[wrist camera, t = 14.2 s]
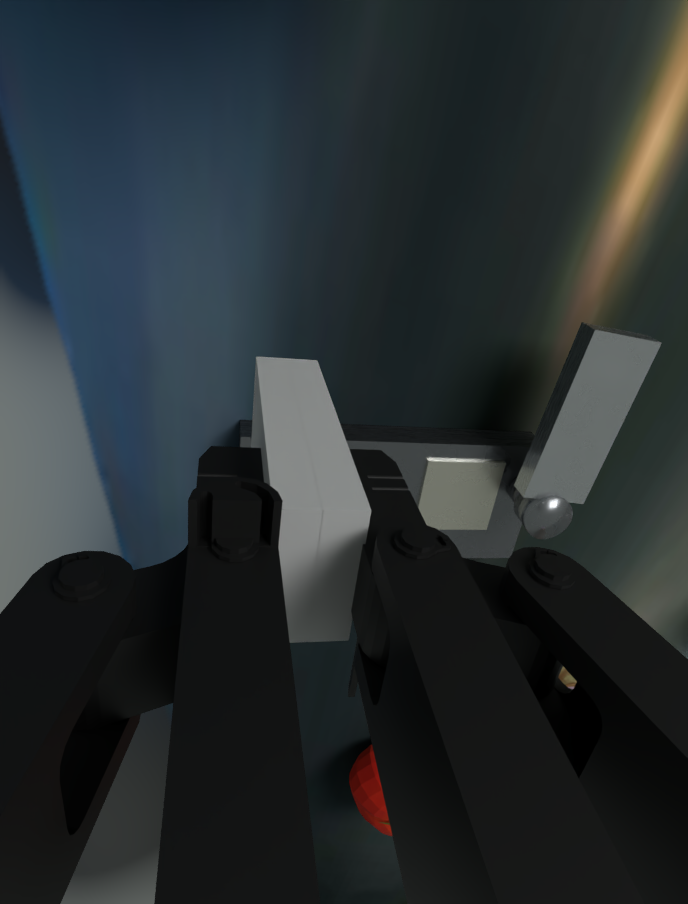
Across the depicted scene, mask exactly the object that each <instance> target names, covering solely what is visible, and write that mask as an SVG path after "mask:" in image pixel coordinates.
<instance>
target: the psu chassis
mask: <svg viewBox="0 0 688 904" xmlns="http://www.w3.org/2000/svg"><path fill="white" fill-rule="evenodd" d="M252 421H253V420H240V435H239V447H250V448H251V438H252ZM340 425H341V428H342V431H343V433H344V436H345V439H346V442H347V444H348V447H349V449H368V450H382V451H383V452H384V453H385V454H386V455H388V456H389V457H390V458H391V459H393V460H394V461H395V462H396V463H397V465H398V467H399V469H400V471H401V473H402V476H403V479H404V480H405V482H406V484H407V486H408V490H409V491H410V492H411V494H412V496H413V498H414V500H415V502H416V504H417V506H418V508H419V511H420V513H421V515H422V517H423V519H424V521H425V523H426V525H428V526H430V527H433V528H436V529H438V530H439V531H441V532H442V533H444V534H445V535H447V536H448V537H449V538H450V539H451V540H452V541H453V543H454V544H455V545H456V547H457V548H458V550H459V552H460V554H461V556H462V557H463V558H510V556H511V555H512V552H513V549H514V546H515V543H516V540H517V537H518V534H519V531H520V528H521V525H522V523H521V521H520V520H519V519H518V517H517V516H516V514H515V512H514V502H515V500H516V497H517V496H518V495H519V493H520V492H519V491H518V490H517V489H516V487H515V486H514V484H515V482H516V479H517V477H518V475H519V472H520V470H521V467H522V465H523V463H524V460H525V458H526V455H527V453H528V451H529V448H530V446H531V443H532V441H533V439H534V436H535V435H534V434H533V433H532V432H522V431H498V430H473V429H449V428H424V427H400V426H376V425H351V424H340Z"/></svg>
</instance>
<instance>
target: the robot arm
mask: <svg viewBox="0 0 688 904" xmlns="http://www.w3.org/2000/svg"><path fill="white" fill-rule="evenodd" d="M352 618H353V621H354V625H355V629H356V633H357V637H358V638H357V643H356V648H355V654H354V659H353V665H352V670H351V675H350V681H349V689H348V697H355V692H356V687H357V683H358V684H359V689H360V693H361V698H362V702H363V706H364V711H365V715H366V720H367V724H368V729H369V733H370V738H371V742H372V747H373V751H374V756H375V760H376V764H377V769H378V773H379V778H380V782H381V787H382V791H383V796H384V800H385V805H386V809H387V814H388V818H389V822H390V827H391V831H392V836H393V840H394V845H395V849H396V854H397V858H398V863H399V867H400V872H401V876H402V881H403V885H404V889H405V894H406V898H407V903H408V904H688V659H687V658H686V657H684V656H683V655H682V654H681V653H680V652H679V651H678V650H676V649H675V648H674V647H673V646H672V645H671V644H670V643H669V642H667V641H666V640H665V639H664V638H663V637H662V636H661V635H660V634H658V633H657V632H656V631H655V630H654V629H653V628H652V627H651V626H649V625H648V624H647V623H646V622H645V621H644V620H643V619H642V618H640V617H639V616H638V615H637V614H636V613H635V612H634V611H632V610H631V609H630V608H629V607H628V606H627V605H626V604H625V603H623V602H622V601H621V600H620V599H619V598H618V597H617V596H616V595H614V594H613V593H612V592H611V591H610V590H609V589H608V588H607V587H605V586H604V585H603V584H602V583H601V582H600V581H599V580H598V579H596V578H595V577H594V576H593V575H592V574H591V573H590V572H588V571H587V570H586V569H585V568H584V567H583V566H581V565H580V564H579V563H577V562H576V561H574V560H573V559H571V558H570V557H568V556H566V555H563V554H561V553H559V552H557V551H554V550H550V549H545V548H540V547H528V548H522V549H519V550H517V551H514V552H513V553H512V555H511V556H510V558H509V559H508V562H507V565H506V568H504V567H500V566H495V565H490V564H485V563H481V562H476V561H473V560H469V559H466V558H463V557H462V556H461V554H460V552H459V550H458V548H457V547H456V545H455V544H454V543H453V541H452V540H451V539H450V538H449V537H448V536H447V535H445V534H444V533H442V532H441V531H439V530H438V529H436V528H433V527H430V526H428V525H426V523H425V521H424V519H423V517H422V515H421V513H420V511H419V508H418V506H417V504H416V502H415V500H414V498H413V496H412V494H411V492H410V491H409V490H408V486H407V484H406V482H405V480H404V479H403V476H402V473H401V471H400V469H399V467H398V465H397V463H396V462H395V461H394V460H393V459H391V458H390V457H389V456H388V455H386V454H385V453H384V452H383V451H382V450H368V449H349V447H348V444H347V442H346V439H345V436H344V433H343V431H342V428H341V425H340V422H339V420H338V417H337V414H336V411H335V408H334V406H333V403H332V400H331V397H330V395H329V392H328V389H327V386H326V384H325V381H324V378H323V375H322V373H321V370H320V367H319V364H318V362H317V360H303V359H287V358H271V357H256V369H255V387H254V404H253V421H252V438H251V448H250V447H219V446H211V447H210V448H209V449H208V450H207V451H206V452H205V453H204V454H203V455H202V456H201V457H200V458H199V466H198V476H197V488H195V489H194V490H193V491H192V493H191V495H190V497H189V500H188V545H187V546H186V548H185V549H184V550H183V551H182V552H180V553H179V554H178V555H177V556H175V557H173V558H171V559H169V560H167V561H165V562H163V563H160V564H157V565H153V566H150V567H146V568H141V569H137V570H133V569H132V566H131V564H129V563H128V562H127V561H126V560H124V559H123V558H122V557H120V556H118V555H114V554H111V553H107V552H104V551H82V552H77V553H72V554H68V555H64V556H61V557H59V558H57V559H55V560H53V561H50V562H48V563H46V564H45V565H44V566H43V567H42V568H40V569H39V570H38V571H37V572H35V573H34V574H33V575H32V576H31V577H30V579H29V580H28V581H27V582H26V584H25V585H24V586H23V587H22V588H21V590H20V591H19V592H18V593H17V594H16V596H15V597H14V598H13V599H12V600H11V602H10V603H9V604H8V605H7V606H6V608H5V609H4V610H3V611H2V612H1V614H0V904H60V903H61V901H62V899H63V896H64V894H65V892H66V889H67V887H68V885H69V882H70V880H71V878H72V876H73V873H74V871H75V869H76V866H77V864H78V862H79V859H80V857H81V855H82V852H83V850H84V848H85V846H86V843H87V841H88V839H89V836H90V834H91V832H92V830H93V827H94V825H95V822H96V820H97V818H98V816H99V813H100V811H101V809H102V806H103V804H104V802H105V800H106V797H107V795H108V792H109V790H110V788H111V786H112V783H113V781H114V779H115V777H116V774H117V772H118V770H119V767H120V765H121V763H122V760H123V758H124V756H125V753H126V751H127V749H128V747H129V744H130V742H131V739H132V737H133V735H134V732H135V730H136V728H137V726H138V724H139V720H140V715H141V713H144V712H147V711H150V710H153V709H156V708H159V707H162V706H165V705H168V704H171V703H173V713H172V724H171V734H170V745H169V755H168V766H167V777H166V787H165V798H164V808H163V819H162V829H161V840H160V851H159V861H158V862H159V863H158V872H157V882H156V893H155V903H154V904H320V897H319V889H318V880H317V872H316V863H315V855H314V846H313V838H312V829H311V821H310V812H309V804H308V795H307V787H306V778H305V769H304V761H303V752H302V744H301V735H300V727H299V718H298V710H297V701H296V693H295V684H294V676H293V667H292V658H291V650H290V643H292V642H319V641H347V640H349V635H350V629H351V623H352ZM562 667H564V668H565V669H566V670H567V671H568V672H569V673H570V674H571V676H572V677H573V678H574V679H575V680H576V681H577V682H576V685H575V687H574V689H570V688H568V687H567V686H566V685H565V684H564V683H563V682H562V681H561V680H560V679H559V678H558V677H559V674H560V672H561V670H562Z"/></svg>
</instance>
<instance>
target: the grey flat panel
mask: <svg viewBox="0 0 688 904" xmlns="http://www.w3.org/2000/svg"><path fill="white" fill-rule="evenodd" d="M660 345H661V342H659V341H657V340H655V339H653V338H651V337H649V336H647V335H643V334H638V333H633V332H628V331H624V330H619V329H614V328H609V327H604V326H599V325H594V324H589V323H584V322H582V323H581V326H580V328H579V331H578V333H577V335H576V338H575V340H574V343H573V345H572V347H571V350H570V352H569V355H568V357H567V359H566V362H565V364H564V367H563V369H562V371H561V374H560V376H559V379H558V381H557V383H556V386H555V388H554V391H553V393H552V395H551V398H550V400H549V403H548V405H547V407H546V410H545V412H544V415H543V417H542V419H541V422H540V424H539V427H538V429H537V431H536V434H535V436H534V439H533V441H532V443H531V446H530V448H529V451H528V453H527V455H526V458H525V460H524V463H523V465H522V467H521V470H520V472H519V475H518V477H517V479H516V482H515V484H514V486H515V487H516V489H517V490H518V491H519V492H520V493H519V495H518V496H517V497H516V500H515V502H514V512H515V514H516V516H517V517H518V519H519V520H520V521H521V523H522V524H523V526H524V527H525V528H526V530H527V531H528V532H529V534H530V535H531V536H533V537H535V538H538V539H548V538H552V537H554V536H557V535H558V534H560V533H561V532H563V531H564V530H565V529H566V528H567V527H568V525H569V524H570V522H571V520H572V516H573V510H572V507H571V505H570V504H569V503H568V502H570V503H579V504H584V502H585V499H586V497H587V495H588V493H589V491H590V489H591V487H592V485H593V483H594V481H595V479H596V477H597V475H598V473H599V471H600V469H601V467H602V465H603V462H604V460H605V458H606V456H607V454H608V452H609V450H610V448H611V446H612V444H613V442H614V440H615V438H616V436H617V434H618V432H619V430H620V427H621V425H622V423H623V421H624V419H625V417H626V415H627V413H628V411H629V409H630V407H631V405H632V403H633V401H634V399H635V397H636V395H637V393H638V390H639V388H640V386H641V384H642V382H643V380H644V378H645V376H646V374H647V372H648V370H649V368H650V366H651V364H652V362H653V360H654V358H655V356H656V353H657V351H658V349H659V347H660Z"/></svg>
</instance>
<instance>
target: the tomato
mask: <svg viewBox="0 0 688 904" xmlns="http://www.w3.org/2000/svg"><path fill="white" fill-rule="evenodd" d="M349 784H350V788H351V791H352V794H353V797H354V800H355V802H356V805H357V807H358V810H359V812H360V813H361V814H362V816H363V817H364V818H365V820H367V821H368V822H369V823H370V824H372V825H373V826H374V827H375V828H376V829H378V830H379V831H380V832H381V833H383V834H386V835H389V836H392V831H391V827H390V822H389V818H388V814H387V809H386V805H385V800H384V796H383V791H382V787H381V782H380V778H379V773H378V769H377V764H376V760H375V756H374V751H373V747H372V744H371V745H370V746H369V747H368V748H366V749H365V750H364V751H363V752H362V753H361V754H359V756H358V758H357V759H356V761H355V763H354V764H353V766H352V769H351V771H350V773H349Z"/></svg>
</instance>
